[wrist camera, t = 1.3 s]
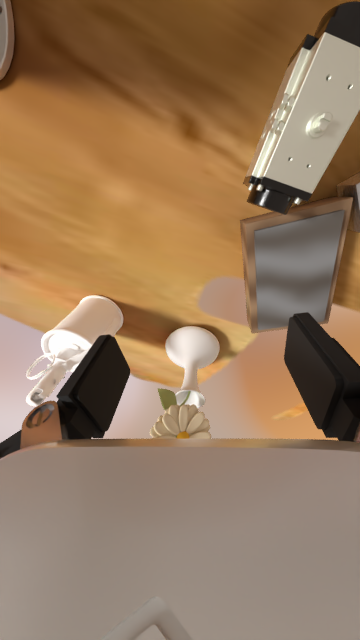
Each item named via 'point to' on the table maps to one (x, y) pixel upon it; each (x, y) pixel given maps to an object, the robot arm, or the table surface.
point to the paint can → (73, 342)
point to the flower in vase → (186, 385)
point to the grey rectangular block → (355, 188)
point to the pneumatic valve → (309, 113)
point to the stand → (293, 262)
